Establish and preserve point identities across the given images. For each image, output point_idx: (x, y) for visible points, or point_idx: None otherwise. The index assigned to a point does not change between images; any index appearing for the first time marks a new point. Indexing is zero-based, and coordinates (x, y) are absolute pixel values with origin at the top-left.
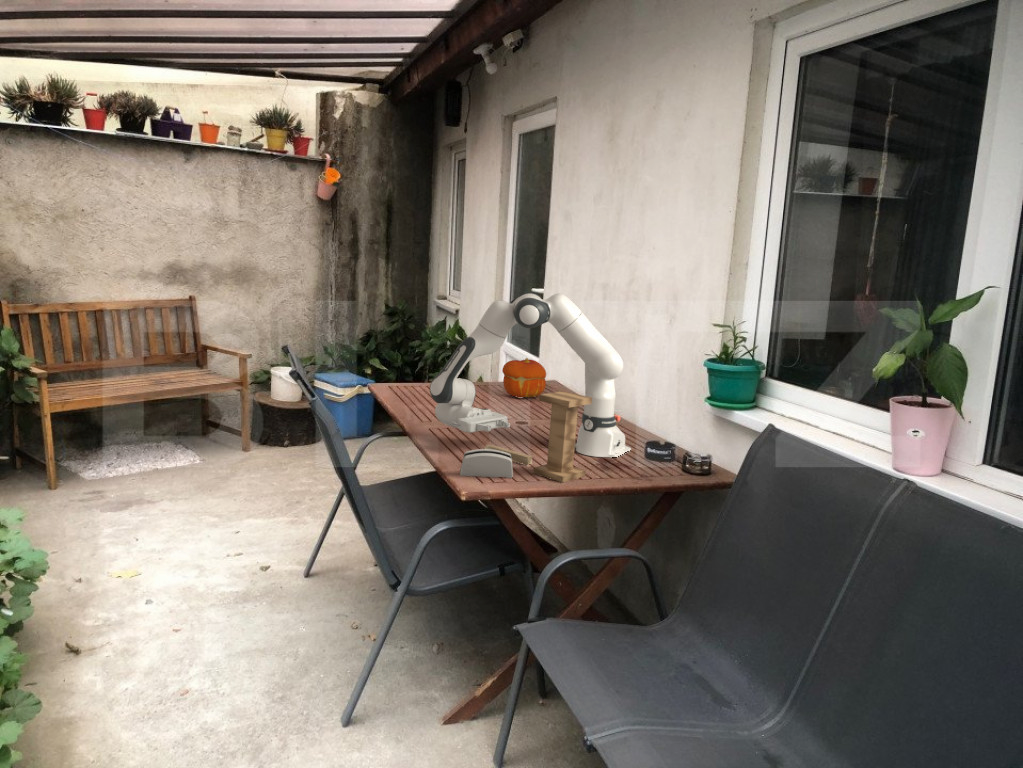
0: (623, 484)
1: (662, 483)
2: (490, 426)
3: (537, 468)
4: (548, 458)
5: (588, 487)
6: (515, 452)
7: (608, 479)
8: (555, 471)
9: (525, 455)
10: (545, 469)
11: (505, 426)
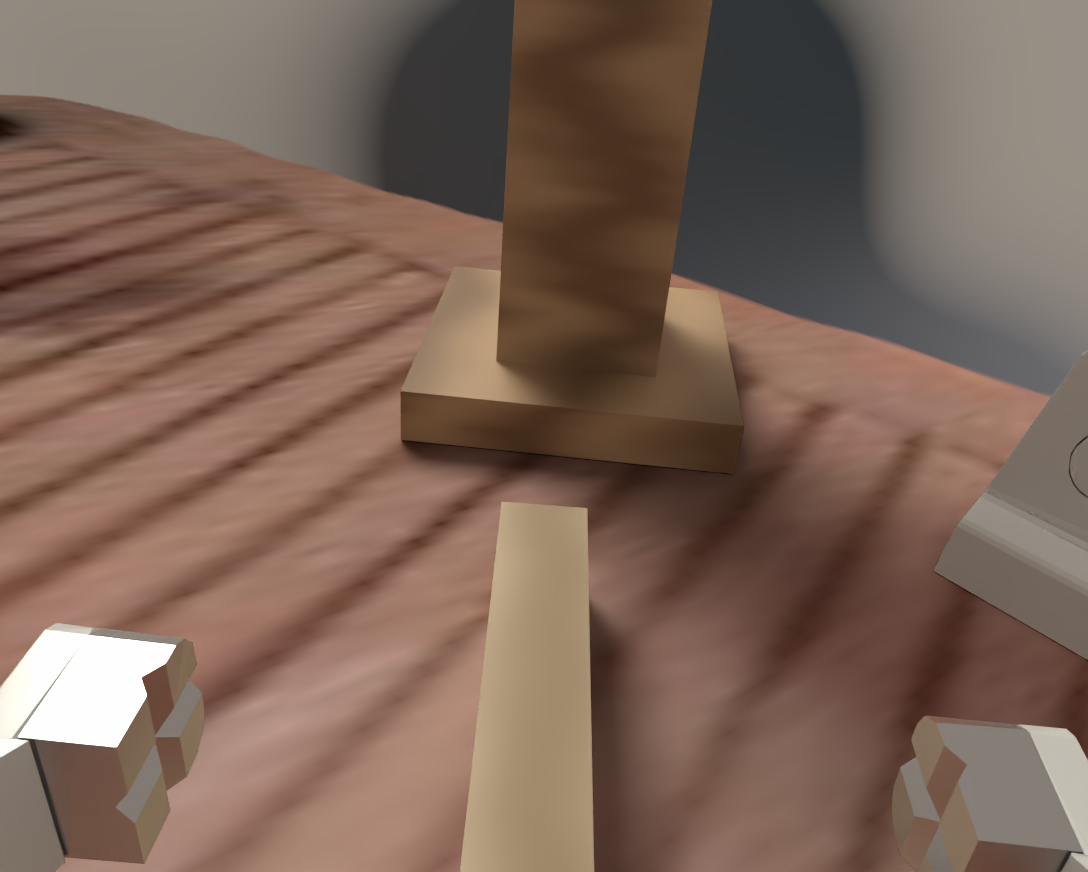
0: (435, 214)
1: (276, 162)
2: (952, 721)
3: (734, 405)
4: (668, 289)
5: None
6: (520, 678)
7: (407, 250)
8: (666, 332)
9: (539, 550)
10: (694, 372)
11: (176, 745)
